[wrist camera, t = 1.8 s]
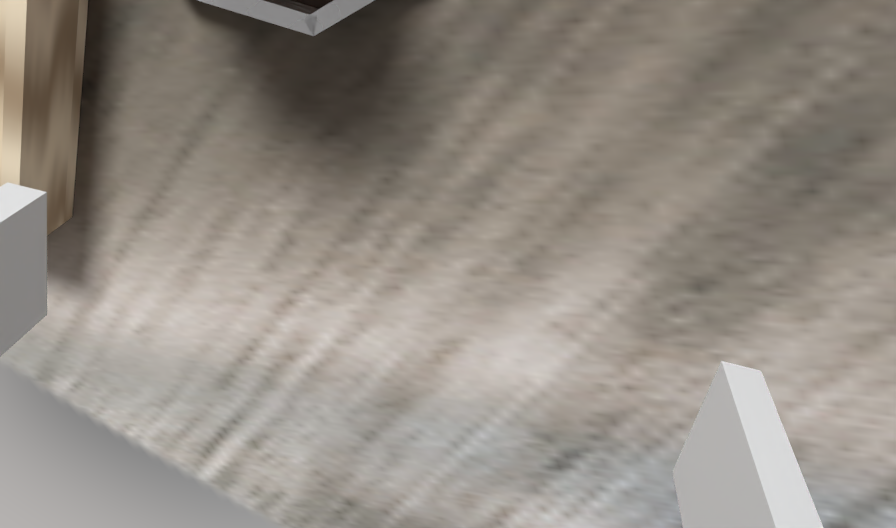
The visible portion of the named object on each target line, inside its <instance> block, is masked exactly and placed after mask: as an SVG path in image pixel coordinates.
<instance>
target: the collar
mask: <svg viewBox="0 0 896 528" xmlns="http://www.w3.org/2000/svg"><path fill="white" fill-rule="evenodd" d="M198 1H201V2H204V3H207V4H211V5H214V6H217V7H220V8H224V9H227V10H230V11H233V12H237V13H240V14H243V15H246V16H250V17H253V18H256V19H259V20H263V21H266V22H269V23H272V24H276V25H279V26H282V27H285V28H289V29H292V30H295V31H298V32H302V33H305V34H308V35H311V36H315V35H317V34H318V33H320V32H322V31H323V30H325V29H327V28H329V27H330V26H332V25H334V24H335V23H337V22H339V21H340V20H342V19H344V18H346V17H347V16H349V15H351V14H352V13H354V12H356V11H357V10H359V9H361V8H362V7H364V6H366V5H368V4H369V3H371V2H373V1H374V0H333V1H331V2H330V3H328V4H326V5H324V6H323V7H321V8H319V9H318V8H315V7H312V6H308V5H305V4H302V3H299V2H295V1H292V0H198Z"/></svg>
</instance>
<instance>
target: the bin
mask: <svg viewBox="0 0 896 528" xmlns="http://www.w3.org/2000/svg"><path fill="white" fill-rule="evenodd" d="M87 11H88V0H0V187H1V186H2V185H4V184H6V183H7V182H8V183H12V184H16V185H20V186H24V187H28V188H32V189H36V190H40V191H44V192H47V235H49V234H50V233H51V232H53V231H54V230H55V229H57V228H58V227H60V226H61V225H62V224H64V223H65V222H66V221H68V220H69V219H70V218H72V214H73V200H74V187H75V173H76V160H77V146H78V133H79V119H80V106H81V92H82V79H83V65H84V52H85V38H86V25H87Z"/></svg>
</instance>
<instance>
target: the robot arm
mask: <svg viewBox="0 0 896 528" xmlns="http://www.w3.org/2000/svg"><path fill="white" fill-rule="evenodd" d="M46 315H47V192H44V191H40V190H36V189H32V188H28V187H24V186H20V185H16V184H12V183H8V182H7V183H6V184H4V185H2V186H1V187H0V356H1V355H3V354H4V353H5V352H6V351H7V350H8V349H9V348H10V347H11V346H13V345H14V344H15V343H16V342H17V341H18V340H19V339H20V338H22V337H23V336H24V335H25V334H26V333H27V332H28V331H29V330H30V329H32V328H33V327H34V326H35V325H36V324H37V323H38V322H39V321H40V320H42V319H43V318H44V317H45V316H46ZM672 472H673V478H674V483H675V488H676V493H677V499H678V504H679V509H680V515H681V520H682V525H683V528H823V526H822V523H821V521H820V518H819V516H818V513H817V511H816V508H815V505H814V503H813V500H812V498H811V495H810V493H809V490H808V488H807V485H806V483H805V480H804V478H803V475H802V473H801V470H800V468H799V465H798V463H797V460H796V458H795V455H794V453H793V450H792V448H791V445H790V443H789V440H788V438H787V435H786V432H785V430H784V427H783V425H782V422H781V420H780V417H779V415H778V412H777V410H776V407H775V405H774V402H773V400H772V397H771V395H770V392H769V390H768V387H767V385H766V382H765V380H764V377H763V375H762V372H761V371H760V370H756V369H752V368H748V367H744V366H740V365H736V364H732V363H728V362H724V361H721V363H720V365H719V367H718V370H717V372H716V374H715V376H714V379H713V381H712V383H711V385H710V388H709V390H708V392H707V395H706V397H705V399H704V401H703V404H702V406H701V408H700V410H699V413H698V415H697V417H696V419H695V422H694V424H693V426H692V428H691V431H690V433H689V435H688V437H687V440H686V442H685V444H684V446H683V449H682V451H681V453H680V455H679V458H678V460H677V462H676V465H675V467H674V469H673V471H672Z"/></svg>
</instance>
